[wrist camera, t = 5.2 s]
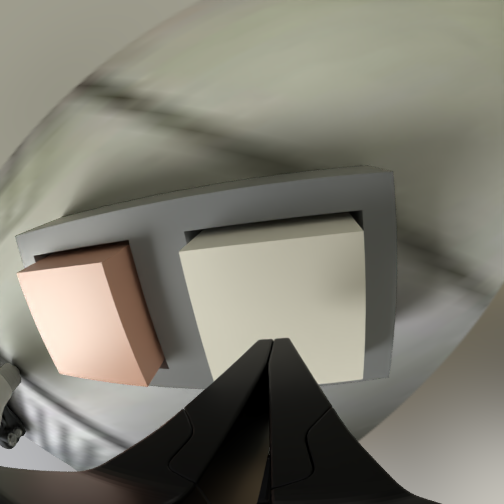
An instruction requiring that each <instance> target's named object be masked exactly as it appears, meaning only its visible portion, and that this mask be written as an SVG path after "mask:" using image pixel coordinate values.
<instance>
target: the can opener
mask: <svg viewBox="0 0 504 504" xmlns="http://www.w3.org/2000/svg"><path fill="white" fill-rule="evenodd" d="M25 432H26V431H25V428H24V426H23V424H22V422H21V421H20V420H19V418H18V417H17V416H16V415H15V414H14V413H13V412H12V411H11V410H10V409H9V408H8V407H7V404H6V405H5V407H4V410H3V412H2V419H1V424H0V445H1V446H2V447H4V448H6V449H12V448H13V447H14V446H15V445H16V443H17V442H18V441H19V438H20V437H21V436H23V435H24V434H25Z"/></svg>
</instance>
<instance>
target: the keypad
mask: <svg viewBox="0 0 504 504" xmlns="http://www.w3.org/2000/svg"><path fill="white" fill-rule="evenodd" d="M338 212H349V214H350V215H351V216H352V217H353V219H354V220H355V221H356V222H357V223H358V225H359V226H360V227H361V228H362V230H363V231H364V250H365V284H366V318H365V351H364V370H363V379H361V380H354V381H345V382H336V383H327V384H318V385H319V386H324V385H335V384H344V383H352V382H360V381H367V380H374V379H381V378H387V377H389V374H390V366H391V357H392V348H393V338H394V325H395V310H396V289H397V225H396V204H395V189H394V176H393V171H389V170H385V169H380V168H376V167H372V166H367V165H366V166H354V167H343V168H332V169H323V170H313V171H304V172H296V173H288V174H280V175H273V176H265V177H258V178H251V179H245V180H238V181H232V182H226V183H219V184H213V185H208V186H202V187H196V188H191V189H185V190H180V191H175V192H170V193H165V194H160V195H155V196H150V197H145V198H140V199H136V200H131V201H127V202H122V203H118V204H113V205H109V206H105V207H101V208H97V209H92V210H88V211H84V212H80V213H77V214H73V215H69V216H65V217H61V218H59V219H56V220H53V221H51V222H48V223H46V224H43V225H41V226H38V227H36V228H33V229H31V230H28V231H26V232H24V233H21V234H19V235H16V236H15V238H16V242H17V245H18V249H19V252H20V256H21V259H22V262H23V265H24V269H25V268H26V267H28V266H30V265H32V264H34V263H36V262H37V261H39V260H41V259H43V258H45V257H47V256H49V255H51V254H52V253H54V252H57V251H63V250H69V249H75V248H81V247H87V246H93V245H99V244H105V243H111V242H117V241H124V240H129V244H130V248H131V252H132V255H133V259H134V263H135V266H136V270H137V274H138V277H139V280H140V284H141V287H142V291H143V294H144V297H145V300H146V304H147V307H148V310H149V313H150V316H151V319H152V322H153V325H154V328H155V331H156V334H157V337H158V340H159V342H160V345H161V348H162V351H163V354H164V356H165V359H164V361H163V363H162V364H161V366H160V368H159V369H158V371H157V372H156V374H155V376H154V377H153V379H152V381H151V382H150V384H149V386H158V387H172V388H189V389H206V388H207V387H208V386H209V385H210V384H212V383H213V382H214V380H213V377H212V374H211V371H210V367H209V364H208V361H207V357H206V354H205V350H204V347H203V344H202V340H201V337H200V333H199V330H198V326H197V322H196V319H195V315H194V311H193V307H192V304H191V300H190V296H189V292H188V288H187V284H186V280H185V276H184V272H183V268H182V264H181V260H180V255H179V251H180V250H181V249H182V248H183V247H185V246H186V245H187V244H188V243H189V242H190V241H191V240H192V239H193V238H195V237H196V236H197V235H198V234H199V233H200V232H201V231H202V230H204V229H206V228H213V227H221V226H228V225H236V224H244V223H252V222H260V221H268V220H276V219H285V218H293V217H302V216H311V215H320V214H329V213H338Z"/></svg>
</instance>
